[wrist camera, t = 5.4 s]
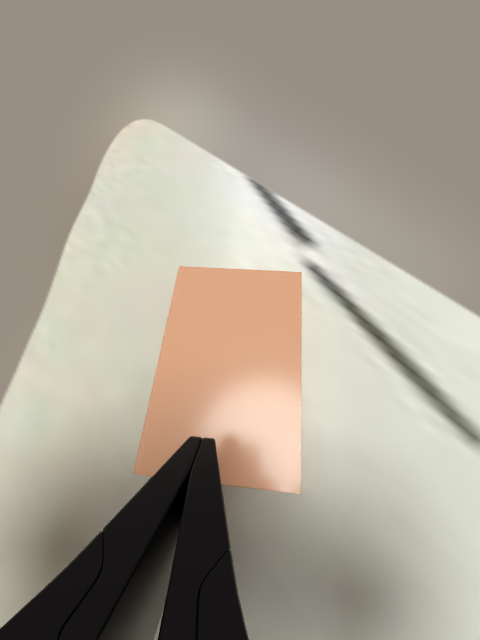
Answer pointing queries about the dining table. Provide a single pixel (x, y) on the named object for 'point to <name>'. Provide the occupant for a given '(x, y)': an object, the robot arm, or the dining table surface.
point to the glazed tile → (231, 376)
